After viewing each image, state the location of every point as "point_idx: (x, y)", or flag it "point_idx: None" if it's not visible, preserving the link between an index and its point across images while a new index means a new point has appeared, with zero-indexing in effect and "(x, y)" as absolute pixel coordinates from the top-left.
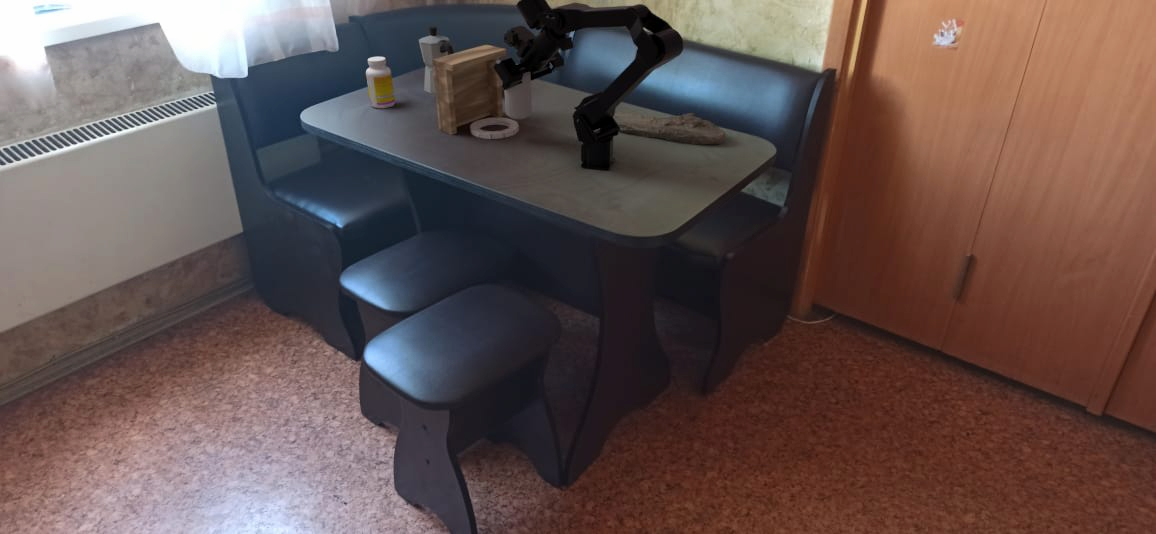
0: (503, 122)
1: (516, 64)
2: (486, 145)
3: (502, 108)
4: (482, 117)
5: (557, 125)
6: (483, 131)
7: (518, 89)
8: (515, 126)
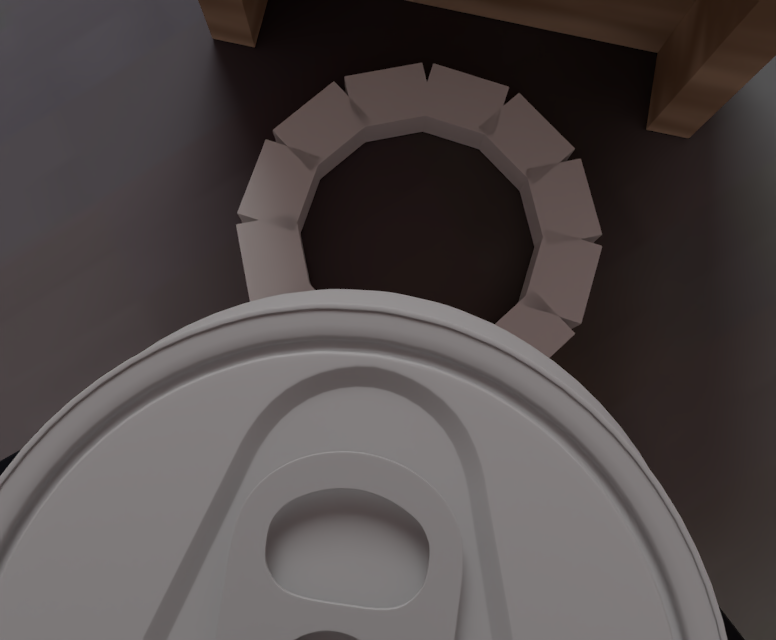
0: (538, 236)
1: (619, 497)
2: (138, 352)
3: (713, 111)
4: (583, 36)
5: (742, 611)
6: (279, 226)
7: None
8: None
